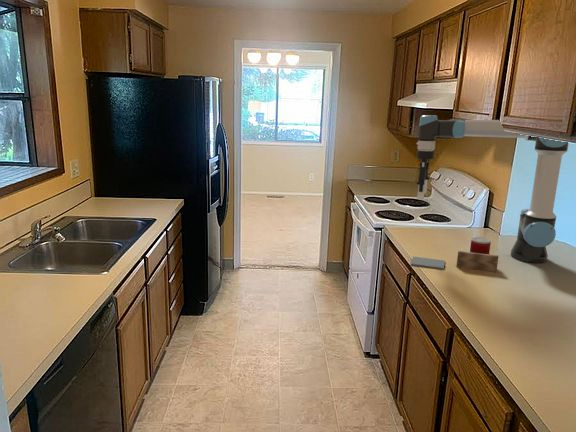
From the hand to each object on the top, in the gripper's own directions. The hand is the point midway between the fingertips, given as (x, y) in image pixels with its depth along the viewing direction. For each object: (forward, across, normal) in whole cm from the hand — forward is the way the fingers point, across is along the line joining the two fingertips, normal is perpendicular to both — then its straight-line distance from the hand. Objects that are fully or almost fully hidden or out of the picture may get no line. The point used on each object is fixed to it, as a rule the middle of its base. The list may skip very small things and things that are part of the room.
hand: (421, 196), depth 203 cm
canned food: (+28, +3, +27) cm, 39 cm away
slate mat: (+28, +14, +6) cm, 32 cm away
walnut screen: (+28, +12, +26) cm, 40 cm away
